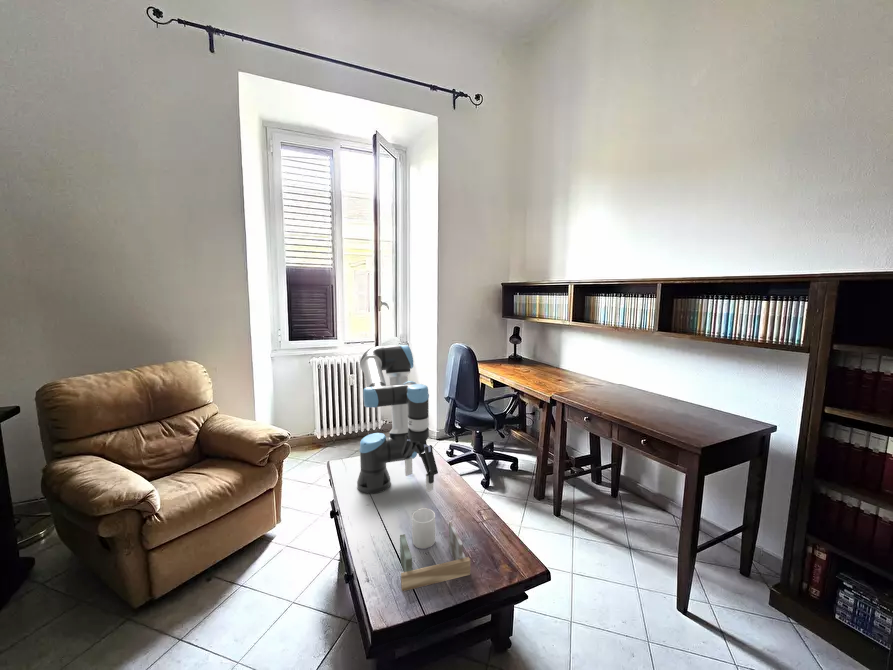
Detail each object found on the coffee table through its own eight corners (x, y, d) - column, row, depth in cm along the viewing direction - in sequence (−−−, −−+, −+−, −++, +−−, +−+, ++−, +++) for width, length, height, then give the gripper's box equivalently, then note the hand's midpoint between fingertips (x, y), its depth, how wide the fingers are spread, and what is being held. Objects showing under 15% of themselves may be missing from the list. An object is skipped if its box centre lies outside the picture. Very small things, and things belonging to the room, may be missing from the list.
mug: (405, 532, 136) (404, 506, 135) (425, 525, 140) (424, 500, 138) (418, 552, 125) (417, 525, 124) (439, 544, 129) (439, 518, 128)
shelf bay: (395, 560, 122) (394, 533, 121) (459, 546, 129) (459, 520, 127) (402, 591, 110) (401, 561, 108) (473, 573, 116) (473, 545, 115)
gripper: (391, 419, 138) (392, 471, 141) (430, 442, 119) (430, 501, 122) (408, 415, 143) (409, 465, 146) (448, 436, 124) (447, 493, 127)
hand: (418, 482), depth 134 cm, fingers open, 13 cm apart
